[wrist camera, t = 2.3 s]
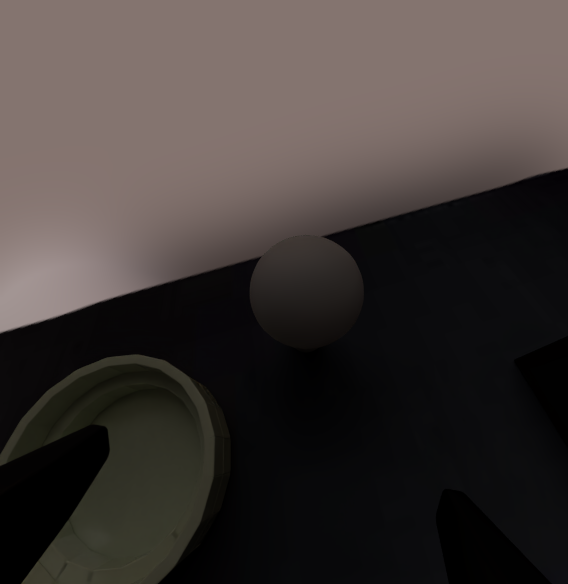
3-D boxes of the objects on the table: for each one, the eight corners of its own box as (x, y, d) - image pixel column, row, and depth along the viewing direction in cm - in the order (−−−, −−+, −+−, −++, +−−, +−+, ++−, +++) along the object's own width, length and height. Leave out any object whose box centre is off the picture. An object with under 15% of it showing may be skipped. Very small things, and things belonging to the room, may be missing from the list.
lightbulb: (306, 291, 25) (306, 191, 15) (362, 341, 23) (403, 260, 13) (252, 338, 23) (212, 260, 14) (305, 397, 21) (304, 353, 11)
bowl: (94, 649, 16) (23, 717, 12) (26, 452, 20) (-42, 453, 17) (270, 474, 19) (260, 481, 15) (174, 340, 24) (148, 318, 20)
